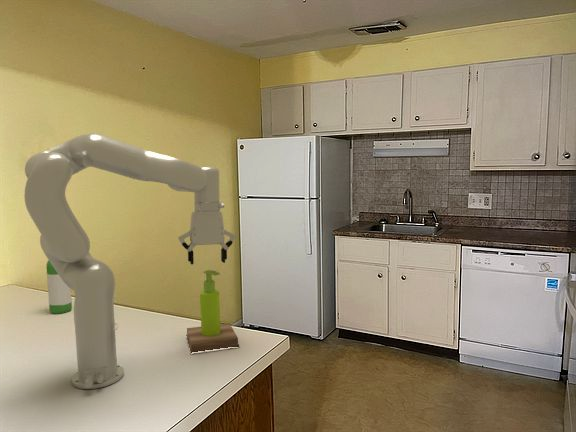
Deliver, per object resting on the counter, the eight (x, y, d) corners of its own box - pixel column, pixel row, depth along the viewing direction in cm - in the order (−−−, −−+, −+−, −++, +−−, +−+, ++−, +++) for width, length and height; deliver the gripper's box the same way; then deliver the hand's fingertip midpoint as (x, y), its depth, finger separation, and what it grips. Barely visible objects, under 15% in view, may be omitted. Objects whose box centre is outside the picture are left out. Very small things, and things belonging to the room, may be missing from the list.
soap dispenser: (212, 338, 136) (210, 274, 134) (197, 333, 140) (195, 271, 138) (226, 332, 141) (224, 270, 139) (211, 328, 145) (209, 267, 143)
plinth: (239, 347, 136) (239, 338, 136) (190, 354, 132) (190, 344, 132) (230, 331, 150) (230, 322, 150) (186, 336, 146) (185, 328, 145)
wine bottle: (52, 309, 176) (46, 234, 173) (73, 307, 178) (68, 233, 175) (47, 315, 169) (41, 237, 165) (70, 313, 171) (64, 235, 168)
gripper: (232, 206, 142) (233, 259, 144) (177, 207, 137) (178, 262, 139) (237, 208, 135) (237, 263, 137) (178, 209, 130) (179, 266, 132)
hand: (207, 262), depth 138 cm, fingers open, 9 cm apart
